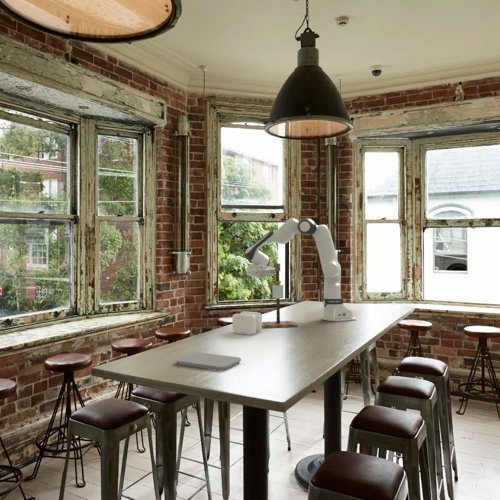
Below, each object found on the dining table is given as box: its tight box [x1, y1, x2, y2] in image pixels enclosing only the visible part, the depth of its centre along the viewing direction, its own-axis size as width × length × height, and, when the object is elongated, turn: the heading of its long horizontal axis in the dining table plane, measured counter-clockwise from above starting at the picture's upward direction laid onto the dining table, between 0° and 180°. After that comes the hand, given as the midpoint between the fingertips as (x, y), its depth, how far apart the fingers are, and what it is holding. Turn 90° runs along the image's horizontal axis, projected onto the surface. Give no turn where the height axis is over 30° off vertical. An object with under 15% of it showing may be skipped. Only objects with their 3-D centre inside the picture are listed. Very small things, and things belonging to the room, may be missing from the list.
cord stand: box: [262, 263, 299, 329], centre depth 282 cm, size 22×13×39 cm, turn 99°
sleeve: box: [271, 284, 284, 299], centre depth 282 cm, size 5×5×8 cm
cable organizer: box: [231, 310, 263, 336], centre depth 262 cm, size 15×11×12 cm
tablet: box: [175, 351, 242, 371], centre depth 198 cm, size 16×26×2 cm, turn 62°
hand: (269, 272), depth 293 cm, fingers open, 8 cm apart
